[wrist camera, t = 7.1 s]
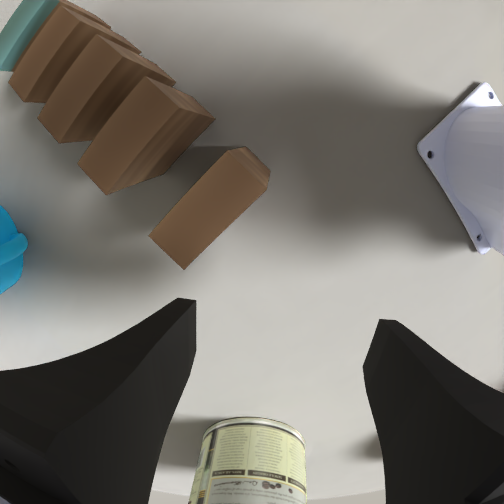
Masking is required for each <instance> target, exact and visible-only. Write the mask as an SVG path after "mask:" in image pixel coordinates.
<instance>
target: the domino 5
mask: <svg viewBox="0 0 504 504" xmlns="http://www.w3.org/2000/svg"><path fill="white" fill-rule="evenodd" d="M269 176H270V170H269V169H268V168H267V167H266V166H265V165H264V164H263V163H262V162H261V161H260V160H259V159H258V158H257V157H256V156H255V155H254V154H253V153H252V152H251V151H250V150H249V149H248V148H247V147H241V148H237V149H232V150H227V151H226V152H225V153H224V154H223V155H222V156H221V157H220V158H219V159H218V160H217V161H216V162H215V163H214V164H213V165H212V166H211V167H210V169H209V170H208V171H207V172H206V173H205V174H204V175H203V176H202V177H201V178H200V179H199V180H198V181H197V182H196V183H195V184H194V185H193V186H192V187H191V189H190V190H189V191H188V192H187V193H186V194H185V195H184V196H183V197H182V198H181V199H180V200H179V202H178V203H177V204H176V205H175V206H174V207H173V208H172V209H171V210H170V211H169V213H168V214H167V215H166V216H165V217H164V218H163V219H162V220H161V222H160V223H159V224H158V225H157V226H156V227H155V228H154V230H153V231H152V232H151V233H150V234H149V235H148V236H149V237H150V238H151V239H152V240H153V241H154V242H155V243H156V244H157V245H158V246H159V247H160V248H161V249H162V250H163V251H165V252H166V253H167V254H168V255H169V256H170V257H171V258H172V259H173V260H174V261H175V262H176V263H177V264H178V265H179V266H180V267H181V268H182V269H183V270H184V269H185V268H186V267H187V266H188V265H189V264H190V263H191V262H192V261H193V260H194V259H195V258H196V257H197V256H198V255H199V254H200V253H201V252H203V251H204V250H205V249H206V248H207V247H208V246H209V245H210V244H211V243H212V242H213V241H214V240H215V239H216V238H217V237H218V236H219V235H220V234H221V233H222V232H223V231H224V230H225V229H226V228H227V227H228V226H229V225H230V224H231V223H232V222H233V221H234V220H235V219H236V218H238V217H239V216H240V215H241V214H242V213H243V212H244V211H245V210H246V209H247V208H248V207H249V206H250V205H251V204H252V203H253V202H254V201H255V200H256V199H257V198H259V197H260V196H261V195H262V194H263V193H264V192H265V191H266V190H267V186H268V181H269Z"/></svg>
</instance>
